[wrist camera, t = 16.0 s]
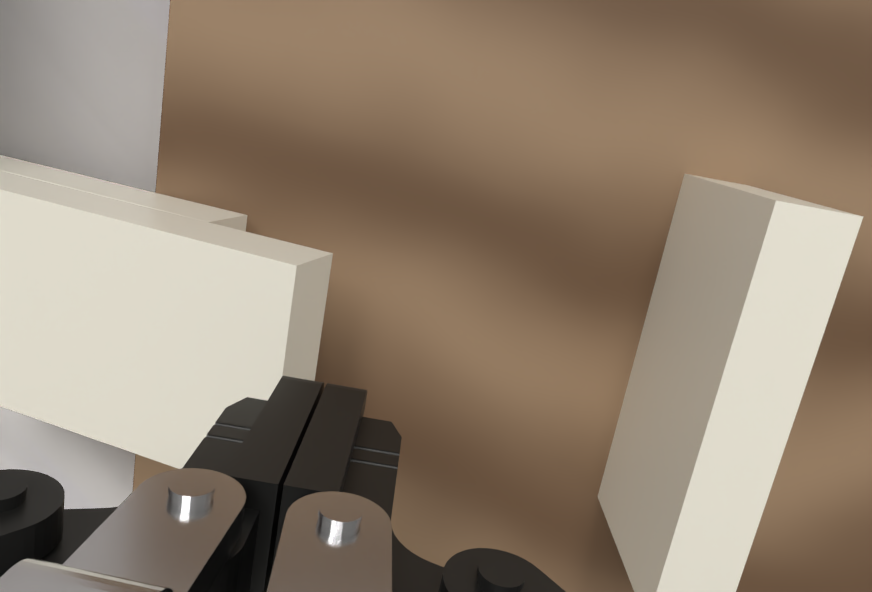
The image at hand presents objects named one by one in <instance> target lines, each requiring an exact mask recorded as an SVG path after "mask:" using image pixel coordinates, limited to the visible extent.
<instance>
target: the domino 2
mask: <svg viewBox="0 0 872 592" xmlns="http://www.w3.org/2000/svg"><path fill="white" fill-rule="evenodd" d="M332 257H333V253H330V252H326V251H322V250H318V249H314V248H310V247H306V246H302V245H298V244H294V243H290V242H286V241H282V240H278V239H274V238H269V237H265V236H261V235H257V234H253V233H249V232H245V231H241V230H237V229H233V228H229V227H225V226H221V225H217V224H213V223H209V222H205V221H201V220H197V219H193V218H189V217H185V216H181V215H177V214H173V213H169V212H165V211H161V210H157V209H153V208H149V207H145V206H141V205H137V204H133V203H129V202H125V201H121V200H117V199H113V198H109V197H105V196H101V195H97V194H93V193H89V192H85V191H81V190H77V189H73V188H69V187H65V186H61V185H57V184H53V183H49V182H45V181H41V180H37V179H33V178H29V177H25V176H21V175H17V174H13V173H9V172H5V171H1V170H0V407H3V408H6V409H9V410H12V411H14V412H17V413H20V414H23V415H26V416H29V417H32V418H35V419H37V420H40V421H43V422H46V423H49V424H52V425H55V426H57V427H60V428H63V429H66V430H69V431H72V432H75V433H77V434H80V435H83V436H86V437H89V438H92V439H95V440H98V441H100V442H103V443H106V444H109V445H112V446H115V447H118V448H120V449H123V450H126V451H129V452H132V453H135V454H138V455H140V456H143V457H146V458H149V459H152V460H155V461H158V462H161V463H163V464H166V465H169V466H172V467H175V468H178V469H182V468H183V466H184V465H185V464H186V462H187V461H188V459H189V458H190V457H191V455H192V454H193V452H194V451H195V450H196V448H197V447H198V446H199V444H200V443H201V441H202V440H203V439H204V437H206V436H207V433H208V432H209V430H210V429H211V428H212V426H213V425H215V422H216V421H217V419H218V418H219V416H220V415H221V414H222V412H223V411H224V410H225V408H226V407H228V406H230V405H232V404H234V403H236V402H238V401H240V400H242V399H244V398H246V397H250V398H255V399H261V400H267V401H268V399H269V397H270V396H271V394H272V392H273V391H274V389H275V387H276V386H277V384H278V382H279V381H280V379H281V377H282V376H289V377H294V378H300V379H306V380H312V381H315V374H316V367H317V361H318V354H319V347H320V340H321V333H322V326H323V319H324V312H325V305H326V298H327V291H328V284H329V277H330V271H331V264H332Z"/></svg>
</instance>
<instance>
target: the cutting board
mask: <svg viewBox="0 0 872 592" xmlns="http://www.w3.org/2000/svg"><path fill="white" fill-rule="evenodd" d="M684 174H689V175H695V176H700V177H706V178H711V179H716V180H722V181H727V182H733V183H738V184H743V185H748V186H752V187H756V188H760V189H763V190H767V191H771V192H774V193H778V194H782V195H785V196H789V197H793V198H796V199H800V200H804V201H807V202H811V203H815V204H818V205H822V206H826V207H830V208H833V209H837V210H841V211H844V212H848V213H852V214H855V215H859V216H863V219H862V222H861V225H860V228H859V231H858V234H857V237H856V240H855V243H854V246H853V249H852V252H851V255H850V258H849V261H848V263H847V266H846V269H845V272H844V275H843V278H842V281H841V284H840V287H839V290H838V293H837V296H836V299H835V302H834V305H833V308H832V311H831V314H830V316H829V319H828V322H827V325H826V328H825V331H824V334H823V337H822V340H821V343H820V346H819V349H818V352H817V355H816V358H815V361H814V364H813V366H812V369H811V372H810V375H809V378H808V381H807V384H806V387H805V390H804V393H803V396H802V399H801V402H800V405H799V408H798V411H797V414H796V416H795V419H794V422H793V425H792V428H791V431H790V434H789V437H788V440H787V443H786V446H785V449H784V452H783V455H782V458H781V461H780V464H779V466H778V469H777V472H776V475H775V478H774V481H773V484H772V487H771V490H770V493H769V496H768V499H767V502H766V505H765V508H764V511H763V514H762V516H761V519H760V522H759V525H758V528H757V531H756V534H755V537H754V540H753V543H752V546H751V549H750V552H749V555H748V558H747V561H746V564H745V566H744V569H743V572H742V575H741V578H740V581H739V584H738V587H737V590H736V592H872V0H170V10H169V23H168V37H167V50H166V63H165V76H164V89H163V102H162V115H161V128H160V141H159V154H158V167H157V180H156V193H159V194H163V195H167V196H171V197H175V198H179V199H183V200H187V201H191V202H196V203H200V204H204V205H208V206H212V207H216V208H220V209H224V210H228V211H232V212H237V213H241V214H245V215H247V224H246V232H249V233H253V234H257V235H261V236H265V237H269V238H274V239H278V240H282V241H286V242H290V243H294V244H298V245H302V246H306V247H310V248H314V249H318V250H322V251H326V252H330V253H333V257H332V264H331V271H330V277H329V284H328V291H327V298H326V305H325V312H324V319H323V326H322V333H321V340H320V347H319V354H318V361H317V367H316V374H315V381H318V382H323V383H324V388H325V386H326V384H327V383H330V384H336V385H342V386H347V387H353V388H359V389H365V390H367V398H366V404H365V410H364V416H363V417H367V418H373V419H379V420H385V421H391V422H392V423H393V424H394V426H395V428H396V429H397V431H398V432H399V434H400V435H401V437H402V439H401V447H400V454H399V462H398V470H397V477H396V485H395V493H394V500H393V508H392V515H391V524H392V530H393V532H394V534H395V536H396V537H397V539H398V540H399V541H400V543H402V544H403V545H404V546H405V547H406V548H407V549H408V550H410V551H411V552H412V553H414V554H416V555H417V556H419V557H421V558H423V559H425V560H427V561H429V562H432V563H434V564H437V565H439V566H442V567H444V566H445V564H446V562H447V561H448V560H449V559H450V558H451V557H452V556H453V555H455V554H456V553H459V552H461V551H464V550H468V549H473V548H490V549H497V550H502V551H506V552H509V553H512V554H515V555H517V556H519V557H521V558H523V559H525V560H527V561H528V562H530V563H532V564H533V565H534V566H536V567H537V568H538V569H540V570H541V571H542V572H543V573H544V574H546V575H547V576H548V577H549V578H550V579H551V580H553V581H554V582H555V583H556V584H557V585H559V586H560V587H561V588H562V589H563V590H564V591H566V592H634V590H633V587H632V585H631V582H630V580H629V577H628V574H627V572H626V569H625V567H624V564H623V562H622V559H621V556H620V554H619V551H618V549H617V546H616V543H615V541H614V538H613V536H612V533H611V530H610V528H609V525H608V523H607V520H606V517H605V515H604V512H603V510H602V507H601V505H600V502H599V499H598V493H599V489H600V486H601V482H602V478H603V474H604V471H605V467H606V463H607V460H608V456H609V452H610V448H611V445H612V441H613V437H614V434H615V430H616V426H617V422H618V419H619V415H620V411H621V408H622V404H623V400H624V396H625V393H626V389H627V385H628V382H629V378H630V374H631V371H632V367H633V363H634V359H635V356H636V352H637V348H638V345H639V341H640V337H641V333H642V330H643V326H644V322H645V319H646V315H647V311H648V307H649V304H650V300H651V296H652V293H653V289H654V285H655V281H656V278H657V274H658V270H659V267H660V263H661V259H662V255H663V252H664V248H665V244H666V241H667V237H668V233H669V229H670V226H671V222H672V218H673V215H674V211H675V207H676V203H677V200H678V196H679V192H680V189H681V185H682V181H683V177H684ZM175 469H178V468H175V467H172V466H169V465H166V464H163V463H161V462H158V461H155V460H152V459H149V458H146V457H143V456H140V455H138V454H135V467H134V480H133V491H134V490H135V489H136V488H137V487H138V486H139V485H140V484H141V483H143V482H144V481H145V480H147V479H148V478H150V477H152V476H154V475H156V474H159V473H162V472H165V471H170V470H175Z"/></svg>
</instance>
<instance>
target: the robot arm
mask: <svg viewBox="0 0 872 592" xmlns="http://www.w3.org/2000/svg"><path fill="white" fill-rule="evenodd" d="M366 398H367V390H365V389H359V388H353V387H347V386H342V385H336V384H330V383H327V384H326V386H325V388H324V383H323V382H318V381H312V380H306V379H300V378H294V377H289V376H282V377H281V379H280V381H279V382H278V384H277V386H276V387H275V389H274V391H273V392H272V394H271V396H270V397H269V399H268V401H267V400H261V399H255V398H250V397H246V398H244V399H242V400H240V401H238V402H236V403H234V404H232V405H230V406H228V407H226V408H225V410H224V411H223V412H222V414H221V415H220V416H219V418H218V419H217V421H216V422H215V425H213V426H212V428H211V429H210V430H209V432H208V433H207V436H206V437H204V439H203V440H202V441H201V443H200V444H199V446H198V447H197V448H196V450H195V451H194V452H193V454H192V455H191V457H190V458H189V459H188V461H187V462H186V464H185V465H184V466H183V468H182V469H175V470H170V471H165V472H162V473H159V474H156V475H154V476H152V477H150V478H148V479H147V480H145V481H144V482H143V483H141V484H140V485H139V486H138V487H137V488H136V489H135V490H134V491H133V492H132V493H131V494H130V495H129V496H128V497H127V498H126V499H125V501H124V502H123V503H122V504H121V505H120V506H119V507H114V508H95V509H64V489H63V487H62V485H61V484H60V483H59V482H58V481H57V480H55V479H54V478H52V477H50V476H48V475H45V474H42V473H39V472H34V471H29V470H14V469H8V470H0V592H566V591H564V590H563V589H562V588H561V587H560V586H559V585H557V584H556V583H555V582H554V581H553V580H551V579H550V578H549V577H548V576H547V575H546V574H544V573H543V572H542V571H541V570H540V569H538V568H537V567H536V566H534V565H533V564H532V563H530V562H528V561H527V560H525V559H523V558H521V557H519V556H517V555H515V554H512V553H509V552H506V551H502V550H497V549H490V548H473V549H468V550H464V551H461V552H459V553H456V554H455V555H453V556H452V557H451V558H450V559H449V560H448V561H447V562H446V564H445V566H444V567H442V566H439V565H437V564H434V563H432V562H429V561H427V560H425V559H423V558H421V557H419V556H417V555H416V554H414V553H412V552H411V551H410V550H408V549H407V548H406V547H405V546H404V545H403V544H402V543H400V541H399V540H398V539H397V537H396V536H395V534H394V532H393V530H392V524H391V515H392V508H393V500H394V493H395V485H396V477H397V470H398V462H399V454H400V447H401V439H402V437H401V435H400V434H399V432H398V431H397V429H396V428H395V426H394V424H393V423H392V422H391V421H385V420H379V419H373V418H367V417H363V416H364V410H365V404H366Z"/></svg>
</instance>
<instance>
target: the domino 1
mask: <svg viewBox="0 0 872 592" xmlns="http://www.w3.org/2000/svg"><path fill="white" fill-rule="evenodd" d="M0 170H1V171H5V172H9V173H13V174H17V175H21V176H25V177H29V178H33V179H37V180H41V181H45V182H49V183H53V184H57V185H61V186H65V187H69V188H73V189H77V190H81V191H85V192H89V193H93V194H97V195H101V196H105V197H109V198H113V199H117V200H121V201H125V202H129V203H133V204H137V205H141V206H145V207H149V208H153V209H157V210H161V211H165V212H169V213H173V214H177V215H181V216H185V217H189V218H193V219H197V220H201V221H205V222H209V223H213V224H217V225H221V226H225V227H229V228H233V229H237V230H241V231H245V232H246V224H247V215H245V214H241V213H237V212H232V211H228V210H224V209H220V208H216V207H212V206H208V205H204V204H200V203H196V202H191V201H187V200H183V199H179V198H175V197H171V196H167V195H163V194H159V193H155V192H150V191H146V190H142V189H138V188H134V187H130V186H126V185H122V184H118V183H114V182H109V181H105V180H101V179H97V178H93V177H89V176H85V175H81V174H77V173H73V172H69V171H64V170H60V169H56V168H52V167H48V166H44V165H40V164H36V163H32V162H28V161H23V160H19V159H15V158H11V157H7V156H3V155H0Z"/></svg>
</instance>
